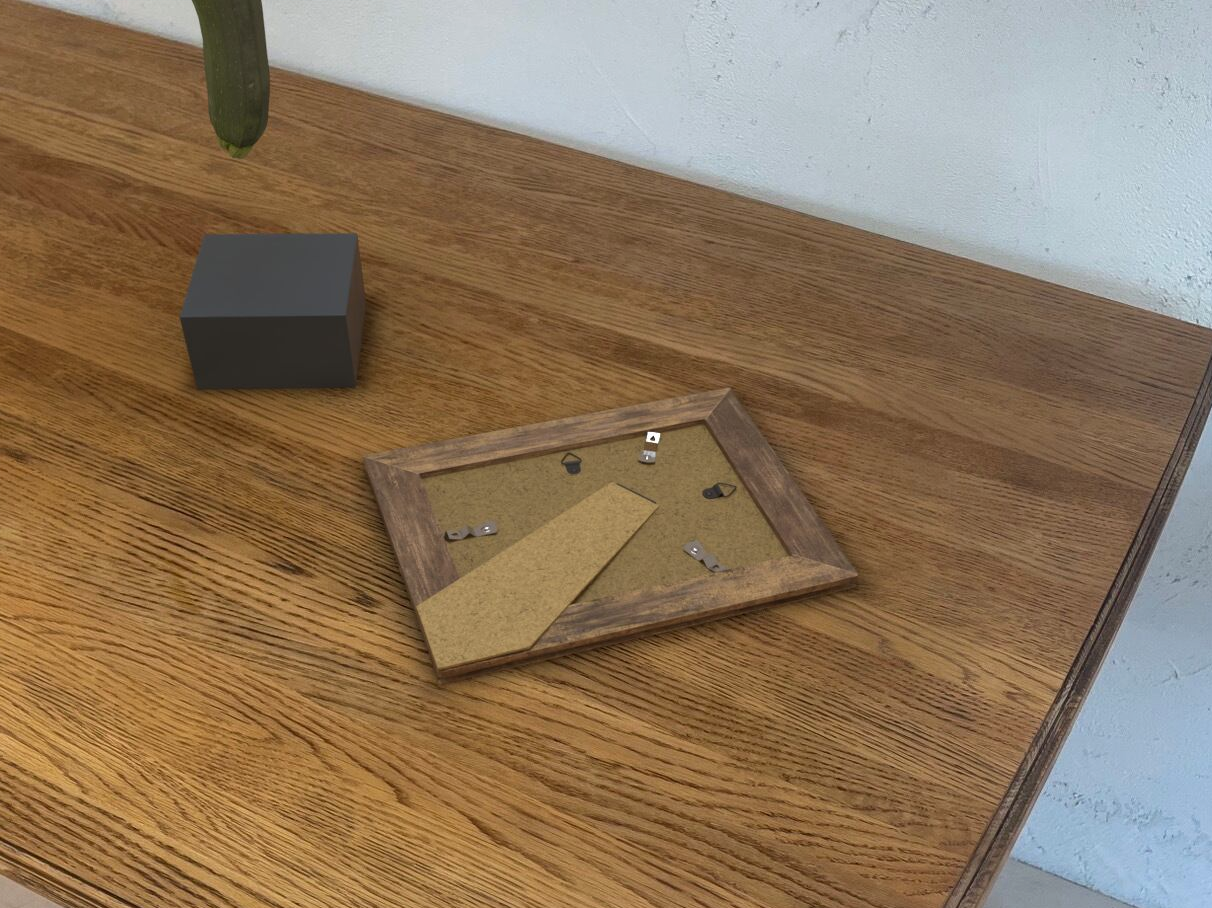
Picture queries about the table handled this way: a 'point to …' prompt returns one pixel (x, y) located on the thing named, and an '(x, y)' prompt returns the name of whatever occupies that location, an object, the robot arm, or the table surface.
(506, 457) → the picture frame
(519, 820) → the table surface
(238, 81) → the vegetable
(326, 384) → the block
